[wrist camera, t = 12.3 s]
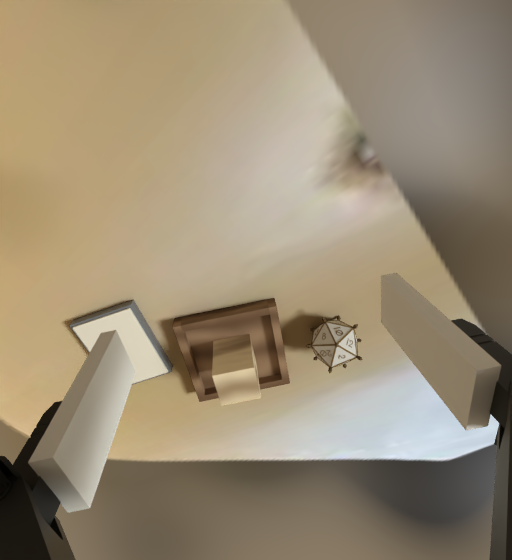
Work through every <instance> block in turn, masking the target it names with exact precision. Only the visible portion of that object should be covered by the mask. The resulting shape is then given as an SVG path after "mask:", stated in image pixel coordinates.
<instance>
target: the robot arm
mask: <svg viewBox="0 0 512 560" xmlns="http://www.w3.org/2000/svg"><path fill="white" fill-rule="evenodd" d="M381 323H382V324H383V325H384V327H385V328H386V329H387V330H388V332H389V333H390V334H391V335H392V337H393V338H394V339H395V341H396V342H397V343H398V344H399V346H400V347H401V348H402V349H403V351H404V352H405V353H406V355H407V356H408V357H409V358H410V360H411V361H412V362H413V363H414V365H415V366H416V367H417V369H418V370H419V371H420V372H421V374H422V375H423V376H424V378H425V379H426V380H427V381H428V383H429V384H430V385H431V386H432V388H433V389H434V390H435V392H436V393H437V394H438V395H439V397H440V398H441V399H442V400H443V402H444V403H445V404H446V406H447V407H448V408H449V409H450V411H451V412H452V413H453V414H454V416H455V417H456V418H457V420H458V421H459V422H460V423H461V425H462V426H463V427H464V428H465V430H471V429H476V428H480V427H485V426H488V423H489V419H490V414H491V415H492V416H493V417H494V418H495V419H496V420H497V421H498V422H499V427H498V431H497V435H496V439H495V443H494V444H495V445H497V452H496V453H497V454H496V469H495V484H494V501H493V517H492V532H491V548H490V560H512V354H510V353H509V352H508V351H507V350H505V349H504V348H503V347H502V346H500V345H499V344H498V343H497V342H494V340H493V339H492V338H491V337H489V336H488V335H486V334H485V333H484V332H483V331H482V330H481V329H480V328H478V327H477V326H476V325H474V324H472V323H470V322H468V321H465V320H463V319H457V320H452V321H450V320H449V319H448V318H447V317H446V316H445V315H444V314H443V313H441V312H440V311H439V310H438V309H437V308H436V307H435V306H433V305H432V304H431V303H430V302H429V301H428V300H427V299H426V298H424V297H423V296H422V295H421V294H420V293H419V292H418V291H416V290H415V289H414V288H413V287H412V286H411V285H410V284H409V283H407V282H406V281H405V280H404V279H403V278H402V277H401V276H399V275H398V274H397V273H393V274H388V275H384V276H381ZM135 373H136V371H135V369H134V367H133V365H132V363H131V361H130V358H129V356H128V354H127V352H126V350H125V348H124V345H123V343H122V341H121V339H120V337H119V335H118V332H117V330H113V331H108V332H103V333H100V335H99V337H98V339H97V341H96V342H95V344H94V346H93V348H92V349H91V351H90V353H89V355H88V357H87V358H86V360H85V362H84V364H83V365H82V367H81V369H80V371H79V373H78V374H77V376H76V378H75V380H74V382H73V383H72V385H71V387H70V389H69V390H68V392H67V394H66V396H65V398H64V399H63V401H60V402H55V403H54V404H53V405H52V406H51V407H50V408H49V409H48V410H47V411H46V412H45V413H44V414H43V416H42V417H41V419H40V421H39V422H38V424H37V427H36V428H35V429H34V431H33V432H32V434H31V438H29V439H28V441H27V442H26V444H25V446H24V447H23V449H22V451H21V452H20V454H19V455H18V457H17V459H16V460H15V462H14V464H13V465H12V464H11V462H10V461H9V460H8V459H7V458H6V457H5V456H0V560H75V558H74V555H73V552H72V550H71V548H70V545H69V543H68V540H67V538H66V536H65V533H64V531H63V528H62V526H61V524H60V521H59V520H58V518H57V517H56V516H55V514H56V512H57V509H58V507H59V505H60V503H61V505H62V506H63V507H64V508H65V510H66V511H67V512H68V513H69V512H73V511H78V510H83V509H88V508H90V507H91V504H92V501H93V498H94V494H95V492H96V489H97V486H98V483H99V480H100V477H101V474H102V471H103V468H104V465H105V462H106V459H107V456H108V453H109V450H110V447H111V444H112V441H113V438H114V435H115V432H116V430H117V427H118V424H119V421H120V418H121V415H122V412H123V409H124V406H125V403H126V400H127V397H128V394H129V391H130V388H131V385H132V382H133V379H134V376H135Z"/></svg>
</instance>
